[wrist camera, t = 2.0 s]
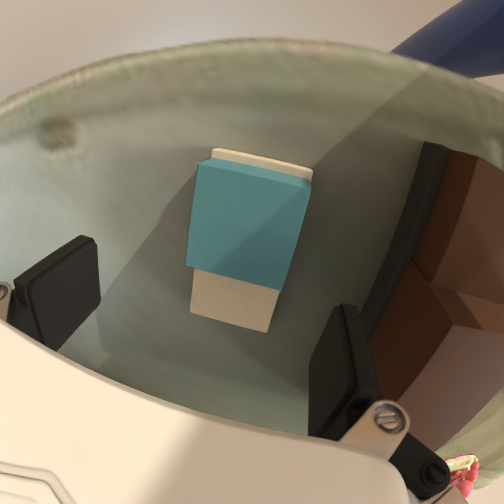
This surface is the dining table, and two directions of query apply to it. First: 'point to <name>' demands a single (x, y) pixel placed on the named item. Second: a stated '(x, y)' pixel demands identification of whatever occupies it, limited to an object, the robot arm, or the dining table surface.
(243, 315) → the teal cream layered block
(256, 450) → the robot arm
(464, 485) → the pastel sphere sculpture
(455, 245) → the brown stepped block
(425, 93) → the dining table surface
